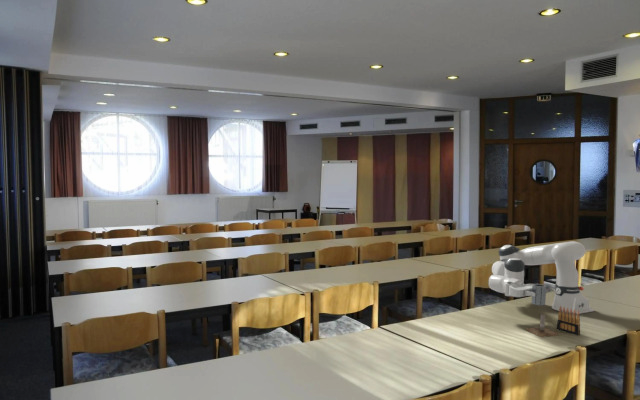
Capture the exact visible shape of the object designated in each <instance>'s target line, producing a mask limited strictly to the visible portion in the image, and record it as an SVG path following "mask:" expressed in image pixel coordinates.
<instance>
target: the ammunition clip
mask: <svg viewBox="0 0 640 400" xmlns="http://www.w3.org/2000/svg"><path fill="white" fill-rule="evenodd" d="M580 315H581V314H580V313H579V310H578V312H577V314H576V311H575V309H574V312H573V313H572V309H570V313H569V310H568V308H567V310H566V312H565V307H563V312H562V308H561V306H560V308H559V311H558V316H557V325H556V330H557V331H560V332H564V333H568V334H571V335H575V336H580V335H581V323H580V322H581V319H580V318H581V317H580Z"/></svg>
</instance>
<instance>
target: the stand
mask: <svg viewBox="0 0 640 400" xmlns="http://www.w3.org/2000/svg"><path fill="white" fill-rule="evenodd" d="M539 317H540V318H539V326H537V327H529V328H526V329H525V331H527V332H529V333H530V334H533V335H535V336H538V337H540V338H544V337H545V338H546V337H554V336H559V332H555V331H554V330H551V329H548V328H547V327H545V324H546V323H545V322H546V314H543V313H542V314H541V313H540V316H539Z"/></svg>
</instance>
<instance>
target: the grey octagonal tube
mask: <svg viewBox="0 0 640 400" xmlns="http://www.w3.org/2000/svg"><path fill="white" fill-rule="evenodd" d="M532 284H533V285H532V292H535V293H537V294H536V296H531V304H533V305H536V306H545V305H546V299H547V298H546V296H547V285H546V284H545V285H544V284H541V283H532Z"/></svg>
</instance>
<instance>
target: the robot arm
mask: <svg viewBox="0 0 640 400" xmlns="http://www.w3.org/2000/svg"><path fill="white" fill-rule="evenodd" d="M585 255H586V248H585V245H583V243H581V242H579V241H573V240H572V241H564V242H557V243H552V244H551V243H550V244H544V245H543V244H542V245H535V246H530V247H526V248H524V249H521V250H520V248H519V247H517V246H515V245H513V244H505V245H503V246H502V247H500V248H498V256H499V259H500V260H497V261H495V262H494V263H492V266H491V273H492V274H491V275H490V276H489V277H488V287H489V289H491V290H493V291H495V292H497V293H501V294H504V296H506V297H513V298H523V297H527V296H528V297H532V296H536V294H537V293H535V292H532V285H533V284H534V283H526V284H525V283H524V281H525V280H524V279H525V276H526V275H525V266H540V265H551V264H555V268H556V276H555V277H556V279H555V280H556V281H555V286H554V290H555V292H554V297H553V302H552V305H551V309H553V310H554V311H558V312H559V308H560V306H561V308H562V312H563V307H565V313H566V310H567V308H568V310H569V314H570V309H572V314H573V312H574V309H575V311H576V315H577V312H578V310H579V313H580V315H581V314H586V313H591V312H594V310H595V309H594V308H593V307H590V301H589V299H588V298H587V297H586V296H584V295H583V294H582V293H581V291H584V290H585V288H584V287H583V286H579V285H578V283H579V272H578V270H577V268H576V261H578V260H580V259H582V258H583V257H584V256H585Z"/></svg>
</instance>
